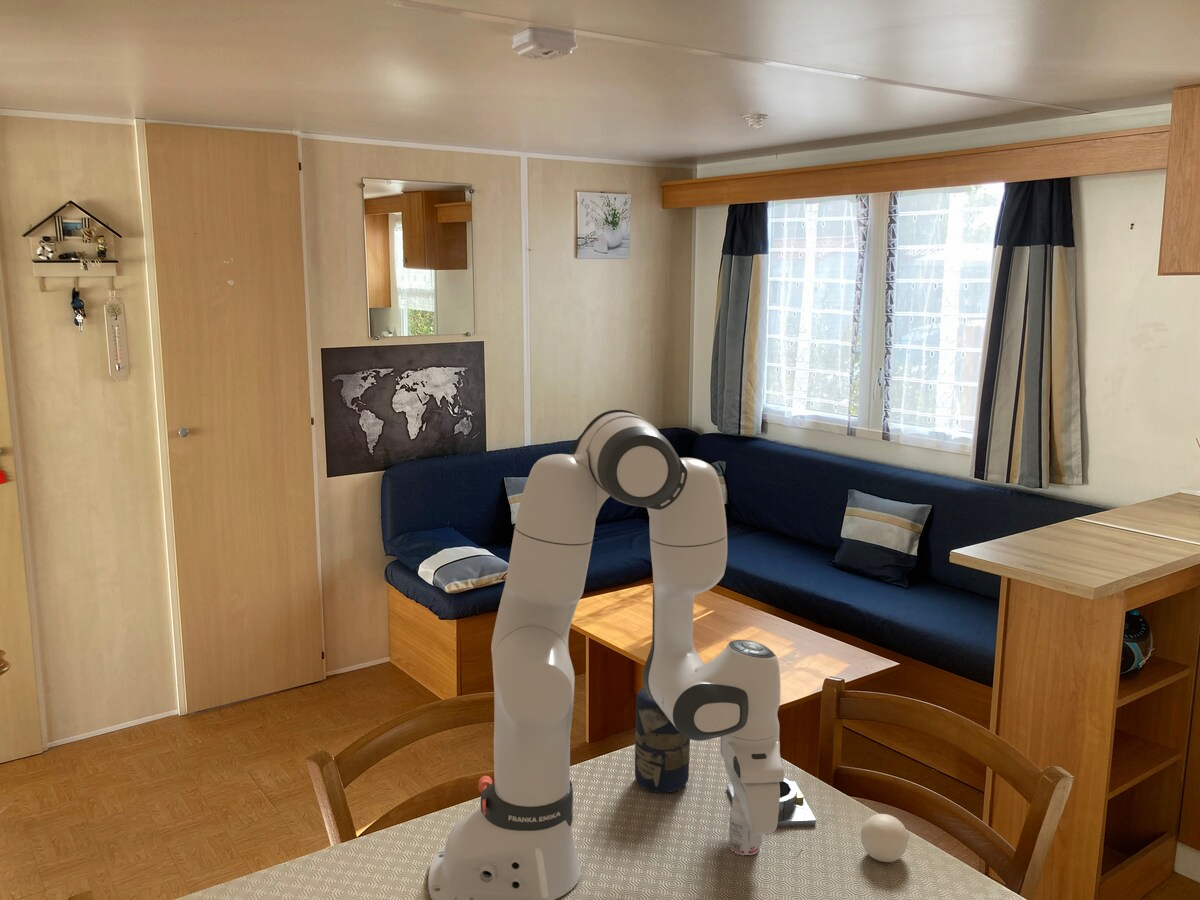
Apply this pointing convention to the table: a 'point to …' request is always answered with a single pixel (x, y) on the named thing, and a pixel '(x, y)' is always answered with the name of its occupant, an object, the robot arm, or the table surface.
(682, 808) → the table surface
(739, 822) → the pill bottle
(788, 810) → the lock socket
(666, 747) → the canister
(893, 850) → the beige sphere
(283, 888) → the table surface
